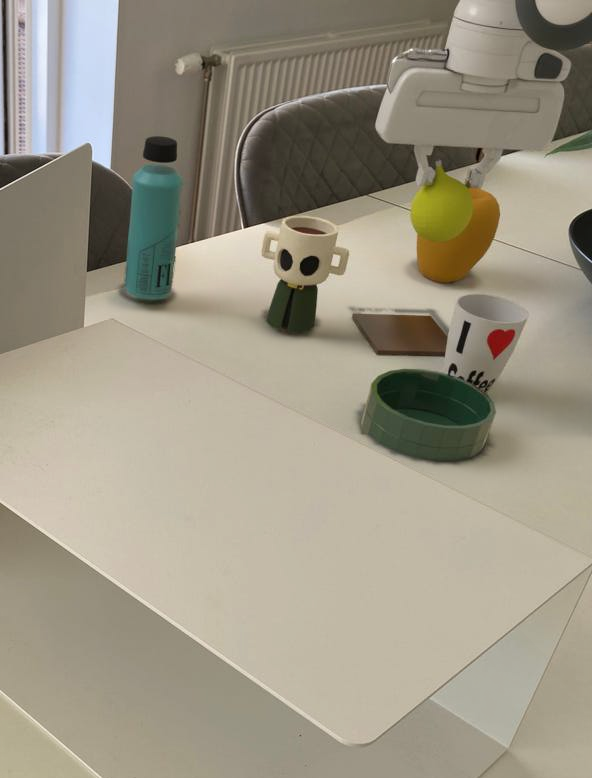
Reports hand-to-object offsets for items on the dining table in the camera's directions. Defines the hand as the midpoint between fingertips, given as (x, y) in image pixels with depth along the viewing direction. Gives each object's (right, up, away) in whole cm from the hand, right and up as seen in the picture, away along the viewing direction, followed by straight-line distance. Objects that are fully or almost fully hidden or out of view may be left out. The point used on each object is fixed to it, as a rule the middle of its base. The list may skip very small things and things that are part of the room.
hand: (448, 186), depth 117 cm
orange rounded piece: (+9, 0, +31) cm, 32 cm away
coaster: (-1, -14, +13) cm, 19 cm away
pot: (-5, -31, -7) cm, 32 cm away
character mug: (-16, -13, +13) cm, 24 cm away
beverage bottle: (-35, -8, +16) cm, 39 cm away
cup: (+3, -23, +4) cm, 23 cm away
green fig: (0, -5, +4) cm, 6 cm away
